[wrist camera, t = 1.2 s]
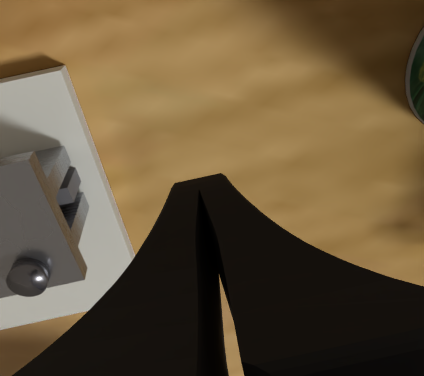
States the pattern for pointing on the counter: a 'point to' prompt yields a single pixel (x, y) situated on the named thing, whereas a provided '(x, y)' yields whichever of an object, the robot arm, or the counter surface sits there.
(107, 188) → the rail board
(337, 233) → the counter surface
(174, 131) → the counter surface
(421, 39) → the canned tomato
